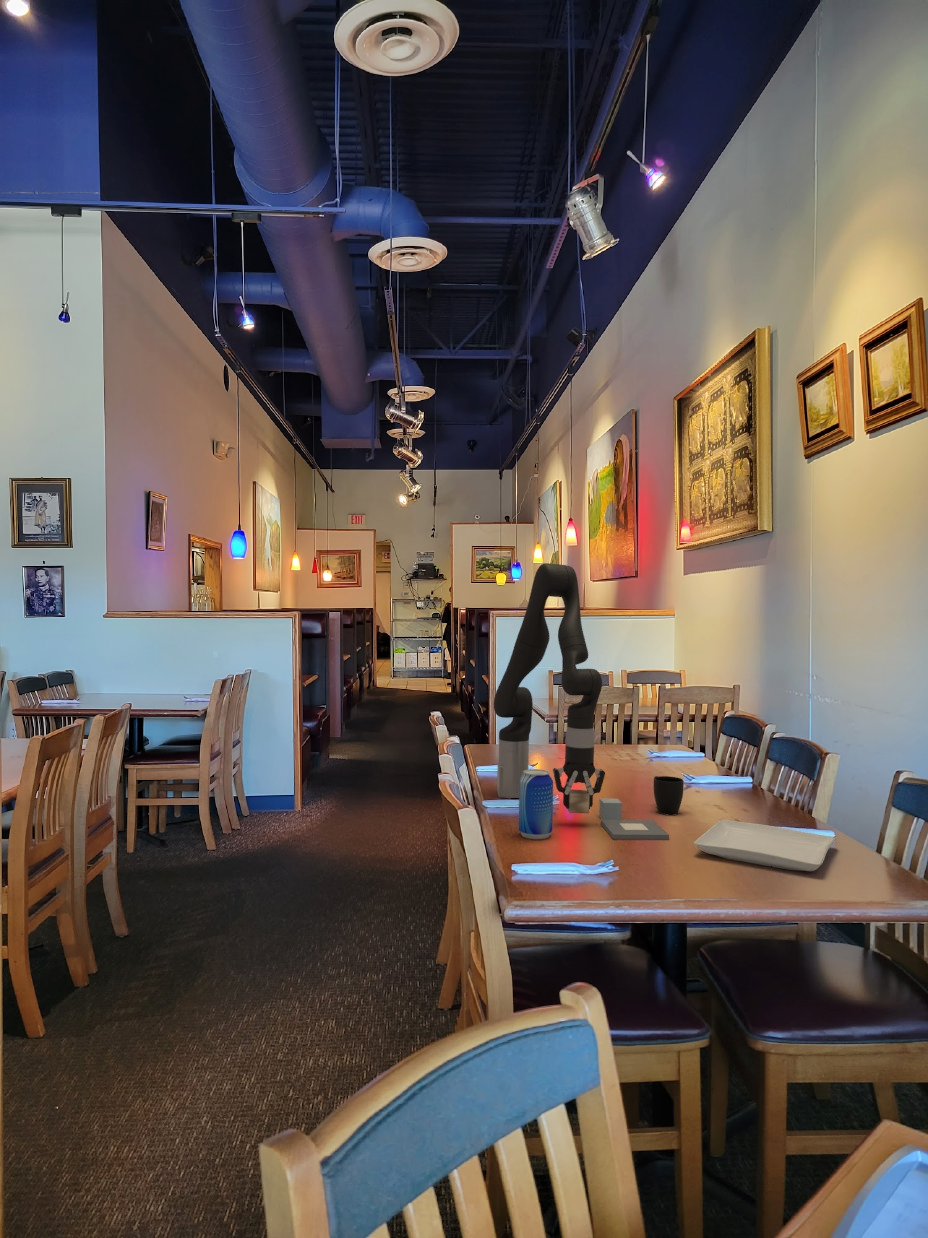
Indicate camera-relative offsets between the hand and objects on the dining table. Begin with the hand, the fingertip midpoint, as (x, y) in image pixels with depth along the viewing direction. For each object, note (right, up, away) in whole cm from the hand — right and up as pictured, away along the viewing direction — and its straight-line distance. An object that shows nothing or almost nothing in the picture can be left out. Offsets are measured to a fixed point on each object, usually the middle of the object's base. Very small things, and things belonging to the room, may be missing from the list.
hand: (577, 807), depth 203 cm
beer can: (-12, -4, -11) cm, 17 cm away
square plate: (+41, -6, -22) cm, 47 cm away
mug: (+28, -5, +17) cm, 33 cm away
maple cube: (0, -1, 0) cm, 1 cm away
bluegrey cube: (+10, -5, +7) cm, 13 cm away
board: (+14, -5, -6) cm, 15 cm away
